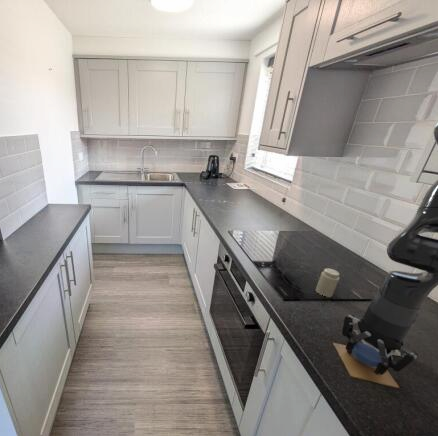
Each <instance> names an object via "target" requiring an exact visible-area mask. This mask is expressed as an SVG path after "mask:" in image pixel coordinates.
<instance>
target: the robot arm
mask: <svg viewBox="0 0 438 436" xmlns="http://www.w3.org/2000/svg"><path fill="white" fill-rule="evenodd" d="M433 138H434V141H435V143H436V146H438V123H437V124H435V126H434V130H433ZM424 233H435V234H438V179H437V180H435V182H434V183H433V184H432V185H431V186H430V187H429V188H428V189H427V190H426V191H425V193H424V195H423V197H422V198H421V201H420V203H419V205H418V207H417V209H416V212H415V214H414V215H413V217H412V218H411V220H410V221H409V223H408V224H407V225H406V226H405V227H404V228H403V229H402V230H400V231H399V233H398V234H397V235H395V236H394V237H393V239H391V240H390V242H389V243H388V245H387V247H386V254H387V257H388V258H389V259H390V260H391V261H392V262H395V263H398V264H400V265H404V266H408V267H411V268H413V269H416V270H420V271H422V272H409V271H401V270H391V271H389V272H387V274H386V275H385V277H384V278H383V280H382V282H381V284H380V286H379V288H378V290H377V292H376V293H375V294H374V295H373V296H372V299H371V300H370V303H369V305H368V306H367V309H366V311H365V313H364V314H363V316H362V318H361V319H359V318H357V317H356V316H355V315H354V314H353V313H350V314H348V315H346V316H344V318H343V319H344V320H343V324H342V331H341V334H342V336H344V337H346V338H347V339H348V341H347V344H345V345H346V350H347V353H349V354H351V353H352V349H353V347H354V345H355V344H357V343H359V342H360V341H361V340H363V339H364V340H365V341H366V342H368V343H370V344H372V345H373V346H374V347H375V348H377V349H378V350H379V354H380V356H381V362H380V363H379V365H378V366H377V368H376V370H375V372H374V373H376V374H377V375H378V374H381V375H383V374H384V373H385V372H386V371H388V370H389V368H391V369H392V370H393V371H395V372H400V371H401V370H403V369H405V367H407V366H408V365H410V364H411V363H412V362H413V361H415V360H416V359H417V358H419V354H418V353H417V352H415V351H411V350H410V349H408V348H407V347H405V345H404V339H405V337H406V336H407V335H408V332H409V331H410V329H411V328H412V326H413V324H415V322H416V321H417V318H418V316H419V313H420V311H421V309H422V306H423V304H424V303H425V301H426V300H427V299H428V296H429V295H430V294H431V293H432V291H434V289H435V288H437V287H438V239H437V238H433V237H429V236H425V235H422V234H424ZM355 325H357V326H358V329H359V330H358V331H360V332H361V333H359V334H354V326H355ZM393 350H398V351H399V352H400V353H401V354H400V355H401V356H400V357H401V359H400V360H398V361H395V360H394V358H393V355H392V354H393Z"/></svg>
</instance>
